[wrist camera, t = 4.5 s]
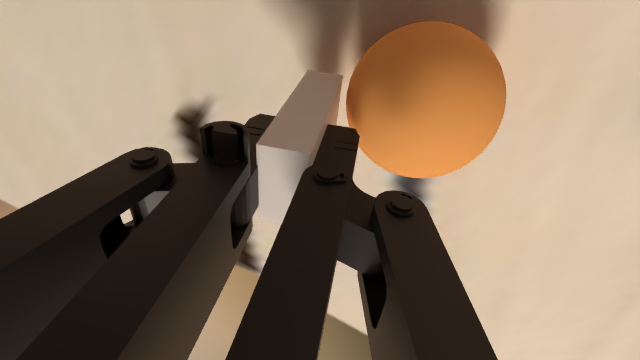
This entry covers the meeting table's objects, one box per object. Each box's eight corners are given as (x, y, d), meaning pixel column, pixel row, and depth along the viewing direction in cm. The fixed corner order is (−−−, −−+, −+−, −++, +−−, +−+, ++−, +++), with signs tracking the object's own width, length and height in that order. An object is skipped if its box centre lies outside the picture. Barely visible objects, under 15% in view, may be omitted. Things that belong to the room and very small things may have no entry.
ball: (375, 37, 9) (581, 62, 10) (353, -4, 14) (492, 14, 14) (340, 203, 13) (491, 214, 13) (332, 126, 17) (443, 136, 18)
